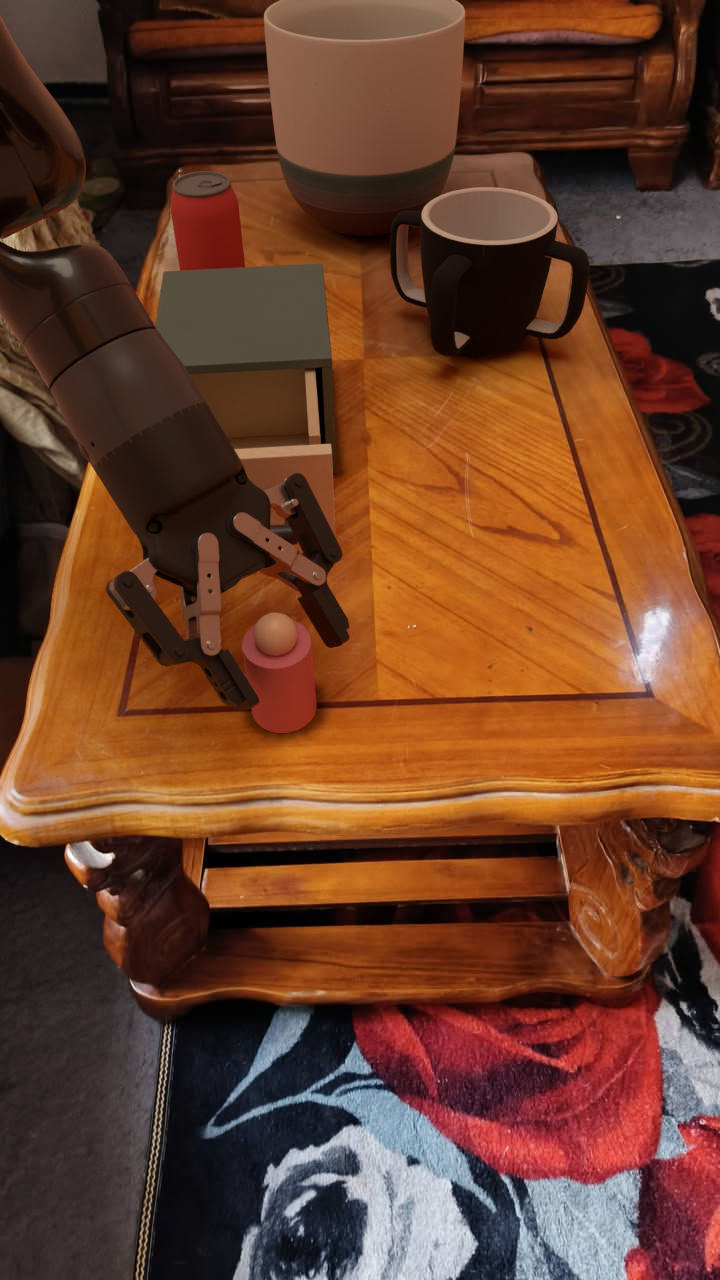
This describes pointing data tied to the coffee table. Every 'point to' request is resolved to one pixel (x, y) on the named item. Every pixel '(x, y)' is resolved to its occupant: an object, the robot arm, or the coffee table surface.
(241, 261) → the beer can
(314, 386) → the drawer
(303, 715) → the doll
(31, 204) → the robot arm
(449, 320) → the mug
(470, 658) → the coffee table surface
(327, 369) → the cabinet
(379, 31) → the planter
